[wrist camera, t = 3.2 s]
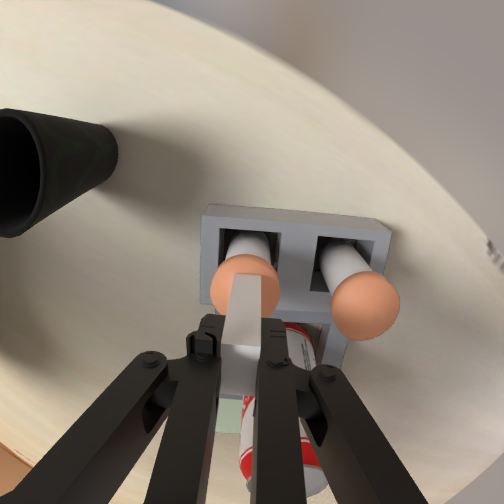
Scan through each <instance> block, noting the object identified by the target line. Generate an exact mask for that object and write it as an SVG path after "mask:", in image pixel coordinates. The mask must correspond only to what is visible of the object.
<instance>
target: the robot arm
mask: <svg viewBox="0 0 504 504" xmlns="http://www.w3.org/2000/svg"><path fill="white" fill-rule="evenodd" d="M186 345H187V356H185V357H183V358H180V359H174V360H167V358H166V357H165V356H164V354H162V353H160V352H155V351H146V352H143V353H141V354H139V355H138V356H136V357H135V359H134V360H133V361H132V362H131V363H130V364H129V365H128V366H127V367H126V368H125V369H124V370H123V371H122V372H121V373H120V375H119V376H118V377H117V378H116V379H115V380H114V381H113V382H112V383H111V384H110V385H109V386H108V387H107V388H106V389H105V391H104V392H103V393H102V394H101V395H100V396H99V397H98V398H97V399H96V400H95V401H94V402H93V403H92V405H91V406H90V407H89V408H88V409H87V410H86V411H85V412H84V413H83V414H82V415H81V416H80V417H79V419H78V420H77V421H76V422H75V423H74V424H73V425H72V426H71V427H70V428H69V429H68V430H67V432H66V433H65V434H64V435H63V436H62V437H61V438H60V439H59V440H58V441H57V442H56V443H55V445H54V446H53V447H52V448H51V449H50V450H49V451H48V452H47V453H46V454H45V455H44V457H43V458H42V459H41V460H40V461H39V462H38V463H37V464H36V465H35V466H34V468H33V469H32V470H31V471H30V472H29V473H28V474H27V475H26V476H25V478H24V479H23V480H22V481H21V482H20V483H19V484H18V485H17V486H16V488H15V489H14V490H13V491H11V492H9V493H7V494H5V495H3V496H1V497H0V504H108V503H109V501H110V500H111V499H112V497H113V496H114V494H115V493H116V491H117V490H118V488H119V487H120V486H121V484H122V483H123V481H124V480H125V478H126V477H127V475H128V474H129V472H130V471H131V470H132V468H133V467H134V465H135V464H136V462H137V461H138V459H139V458H140V456H141V455H142V453H143V452H144V450H145V449H146V447H147V446H148V445H149V443H150V442H151V440H152V439H153V437H154V436H155V434H156V433H157V431H158V430H159V428H160V427H161V425H162V424H163V422H164V421H165V419H166V418H167V416H168V419H167V422H166V426H165V429H164V433H163V436H162V440H161V443H160V447H159V450H158V454H157V457H156V461H155V464H154V468H153V472H152V475H151V479H150V483H149V486H148V490H147V494H146V498H145V501H144V503H143V504H205V500H206V493H207V486H208V478H209V471H210V464H211V457H212V449H213V442H214V435H215V428H216V421H217V414H218V407H219V393H220V394H231V395H243V396H255V401H254V409H253V417H254V418H253V445H252V471H251V496H250V504H307V500H306V489H305V477H304V467H303V456H302V446H301V436H300V426H299V417H300V421H301V424H302V426H303V428H304V430H305V433H306V435H307V437H308V439H309V442H310V444H311V446H312V448H313V451H314V453H315V455H316V457H317V459H318V462H319V464H320V466H321V468H322V470H323V473H324V475H325V477H326V479H327V481H328V484H329V486H330V488H331V490H332V492H333V494H334V497H335V499H336V501H337V503H338V504H428V502H427V501H426V499H425V497H424V496H423V494H422V493H421V491H420V490H419V488H418V487H417V485H416V484H415V482H414V480H413V479H412V477H411V476H410V474H409V473H408V471H407V470H406V468H405V467H404V465H403V463H402V462H401V460H400V459H399V457H398V456H397V454H396V453H395V451H394V450H393V448H392V447H391V445H390V444H389V442H388V440H387V439H386V437H385V436H384V434H383V433H382V431H381V430H380V428H379V427H378V425H377V424H376V422H375V421H374V419H373V418H372V416H371V415H370V413H369V411H368V410H367V408H366V407H365V405H364V404H363V402H362V401H361V399H360V398H359V396H358V395H357V393H356V392H355V390H354V389H353V387H352V386H351V384H350V383H349V381H348V380H347V378H346V377H345V375H344V374H343V372H342V371H341V370H340V369H339V368H337V367H335V366H333V365H328V364H321V365H317V366H315V367H314V368H313V369H312V371H310V370H306V369H302V368H300V367H298V366H296V365H294V364H293V363H292V360H291V358H290V357H289V353H288V344H287V335H286V326H285V324H284V323H283V321H282V320H281V319H277V318H262V317H261V275H251V274H238V273H234V276H233V281H232V287H231V292H230V297H229V303H228V308H227V313H226V315H216V314H206V315H205V316H204V317H203V318H202V319H201V322H200V325H199V328H198V331H194V332H192V333H190V334H188V336H187V337H186Z"/></svg>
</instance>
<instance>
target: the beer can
mask: <svg viewBox="0 0 504 504" xmlns="http://www.w3.org/2000/svg"><path fill="white" fill-rule="evenodd" d="M283 323H284V324H285V326H286V335H287V344H288V353H289V357H290V358H291V360H292V363H293V364H294V365H296V366H298V367H300V368H302V369H306V370H310V371H312V369H313V368H314V367H315V366H317V365H316V361H315V356H314V351H313V347H312V342H311V339H310V337H309V335H308V333H307V332H306V331H305V330H304V329H303V328H302V327H301V326H300V325H298V324H295V323H293V322H283ZM254 401H255V396H243V404H242V420H241V435H240V451H239V466H240V469H241V471H242V473H243V475H244V477H245V479H246V480H247V484H246V487H247V489H248V491H249V492H250V493H251V471H252V445H253V418H254V417H253V409H254ZM299 426H300V436H301V446H302V456H303V467H304V477H305V489H306V498H307V497H310V496H312V495H315V494H317V493H319V492H320V491H322V490H323V489H325V488H326V486H327V485H328V481H327V479H326V477H325V475H324V473H323V470H322V468H321V466H320V464H319V462H318V459H317V457H316V455H315V453H314V451H313V448H312V446H311V444H310V442H309V439H308V437H307V435H306V433H305V430H304V428H303V426H302V424H301V421H300V417H299Z"/></svg>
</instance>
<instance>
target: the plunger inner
mask: <svg viewBox="0 0 504 504" xmlns="http://www.w3.org/2000/svg"><path fill="white" fill-rule="evenodd" d="M234 273H238V274H251V275H261V317H262V318H266V317H268V316H269V315H270V314H271V313H272V312H273V311H274V310H275V309H276V307H277V305H278V302H279V299H280V286H279V279H278V275H277V273H276V271H275V269H274V268H273V266H272V265H271V259H270V246H269V241H268V239H267V237H266V235H265V234H264V233H263V232H261V231H254V230H239V231H237V232H236V233H235V234H234V235H233V237H232V238H231V241H230V244H229V248H228V252H227V255H226V259H225V261H223V262H222V263H221V264H220V265H219V267H218V268H217V270H216V272H215V274H214V277H213V280H212V283H211V288H210V296H211V300H212V303H213V305H214V307H215V308H216V310H217V311H218V312H219V313H220V314H221V315H226V313H227V308H228V303H229V297H230V292H231V287H232V281H233V276H234Z"/></svg>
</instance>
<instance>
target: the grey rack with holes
mask: <svg viewBox="0 0 504 504" xmlns="http://www.w3.org/2000/svg"><path fill="white" fill-rule="evenodd" d="M224 228H227V229H241V230H254V231H267V232H277V240H276V250H275V260H274V269H275V271H276V273H277V275H278V279H279V286H280V299H279V302H278V305H277V307H276V309H275V310H274V311H273V312H272V313H271V314H270V315H269V316H268V317H266V318H277V319H281V320H282V321H283V322H299V323H320V324H323V326H322V330H321V335H320V340H319V344H318V348H317V353H316V357H315V361H316V365H321V364H328V365H333V366H335V367H337V368H339V369H340V367H341V364H342V360H343V357H344V353H345V350H346V346H347V343H348V339H349V338H347V337H345V336H344V335H342V334H341V333H340V332H339V330H338V329H337V327H336V324H335V322H334V319H333V316H332V313H331V309H330V303H331V298H332V296H331V294H330V291H329V289H328V286H327V284H326V282H325V279H324V277H323V274H322V272H320V271H313V266H314V259H315V252H316V245H317V238H318V236H326V237H337V238H348V239H357V244H356V250H357V252H358V253H359V254H360V255H361V257H362V258H363V259H364V260H365V262H366V263H367V264H368V266H369V267H370V268H371V270H372V271H373V272H377V273H379V274H381V275H383V272H384V268H385V263H386V259H387V254H388V249H389V245H390V240H391V235H392V232H391V231H390V230H388V229H387V228H386V227H385V226H383V225H382V224H381V223H379V222H378V221H377V220H376V219H372V218H363V217H354V216H345V215H335V214H325V213H315V212H304V211H293V210H282V209H270V208H258V207H245V206H231V205H216V204H210V205H209V206H208V207H207V209H206V210H205V212H204V213H203V214H202V216H201V253H200V304H211V305H213V303H212V300H211V296H210V288H211V283H212V280H213V277H214V274H215V272H216V270H217V268H218V267H219V265H220V264H221V263H222V262H223V248H224ZM215 314H216V315H221V314H220V313H219V312H218V311H217V310H216V308H215ZM219 398H224V399H235V400H243V395H231V394H220V393H219Z"/></svg>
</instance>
